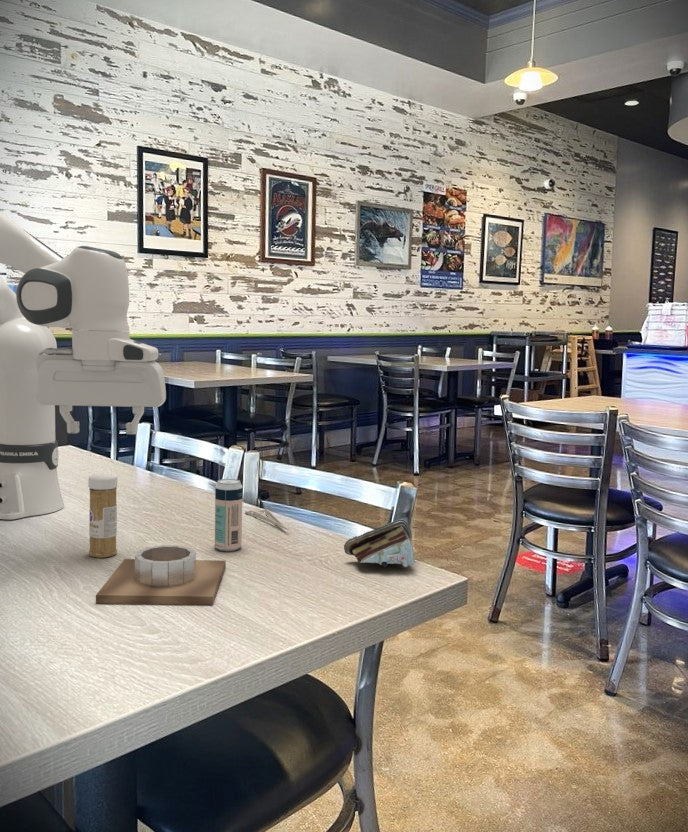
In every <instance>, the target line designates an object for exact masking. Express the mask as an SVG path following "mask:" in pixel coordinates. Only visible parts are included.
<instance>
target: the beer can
mask: <svg viewBox="0 0 688 832" xmlns="http://www.w3.org/2000/svg"><path fill="white" fill-rule="evenodd" d="M214 488H215V491H214V493H215V495H214V498H215V499H214V502H215V503H214V546H213V547H214V548H216V549H217V550H219V551H221V552H234V551H237V550H238V549H240V548H242V547H243V546H242V545H243V543H242V538H243V537H242V535H243V533H242V531H243V530H242V529H243V488H244V486H243V485H242V483H241V480H240V479H235V478H223V479H222V478H221V479H219V480H217V482H216V484H215V486H214Z"/></svg>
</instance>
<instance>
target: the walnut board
mask: <svg viewBox="0 0 688 832" xmlns="http://www.w3.org/2000/svg"><path fill="white" fill-rule="evenodd" d="M226 563H227V561H226V560H221V559H220V560H213V559H212V560H211V559H209V560H206V559H205V560H203V559H196V575H195V578H194V579H193V580H192V581H189V582H187V583H185V584H181V585H175V586H169V587H156V586H148V585H144V584H140V583H139V582H138V581H137V580H136V579H135V558H125V559H123V561H122V562H121V563H120V564H119V566H118V567H117V568H116V569H115V571H114V572H113V573H112V574H111V575H110V576H109V578H108V579H107V580H106V582H105V583H104V584H103V585H102V587H101V588H100V589H99V591H97V593H96V594H95V604H103V605H106V604H107V605H108V604H109V605H111V604H112V605H117V604H119V605H121V604H122V605H177V606H179V605H187V606H188V605H189V606H191V605H192V606H194V605H195V606H197V605H198V606H199V605H201V606H213V605H214V604H215V603H214V602H215V599H216V597H217V593H218V591H219V589H220V585H221V582H222V579H223V576H224V573H225V571H226Z"/></svg>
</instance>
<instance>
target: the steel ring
mask: <svg viewBox="0 0 688 832" xmlns="http://www.w3.org/2000/svg"><path fill="white" fill-rule="evenodd" d="M134 559H135V579H136V580H137V581H138V582H139V583H140V584H144V585H148V586H156V587H169V586H175V585H181V584H185V583H187V582H189V581H192V580H193V579H194V578H195V575H196V560H197V551H196V550H195V549H193V548H192V547H189V546H183V545H177V544H176V545H174V544H173V545H171V544H170V545H168V544H161V545H155V546H150V547H144V548H143V549H139V550H138V551H137V552H136V553H135V555H134Z"/></svg>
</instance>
